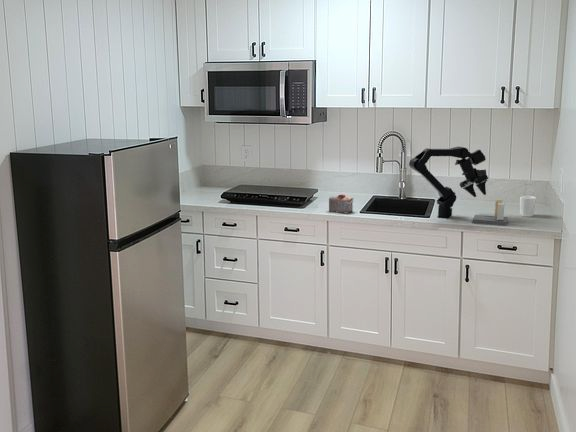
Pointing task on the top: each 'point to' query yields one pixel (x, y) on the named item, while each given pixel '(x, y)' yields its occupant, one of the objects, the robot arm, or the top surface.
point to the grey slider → (500, 211)
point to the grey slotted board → (489, 220)
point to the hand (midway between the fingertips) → (480, 195)
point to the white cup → (527, 205)
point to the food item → (340, 203)
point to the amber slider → (496, 206)
